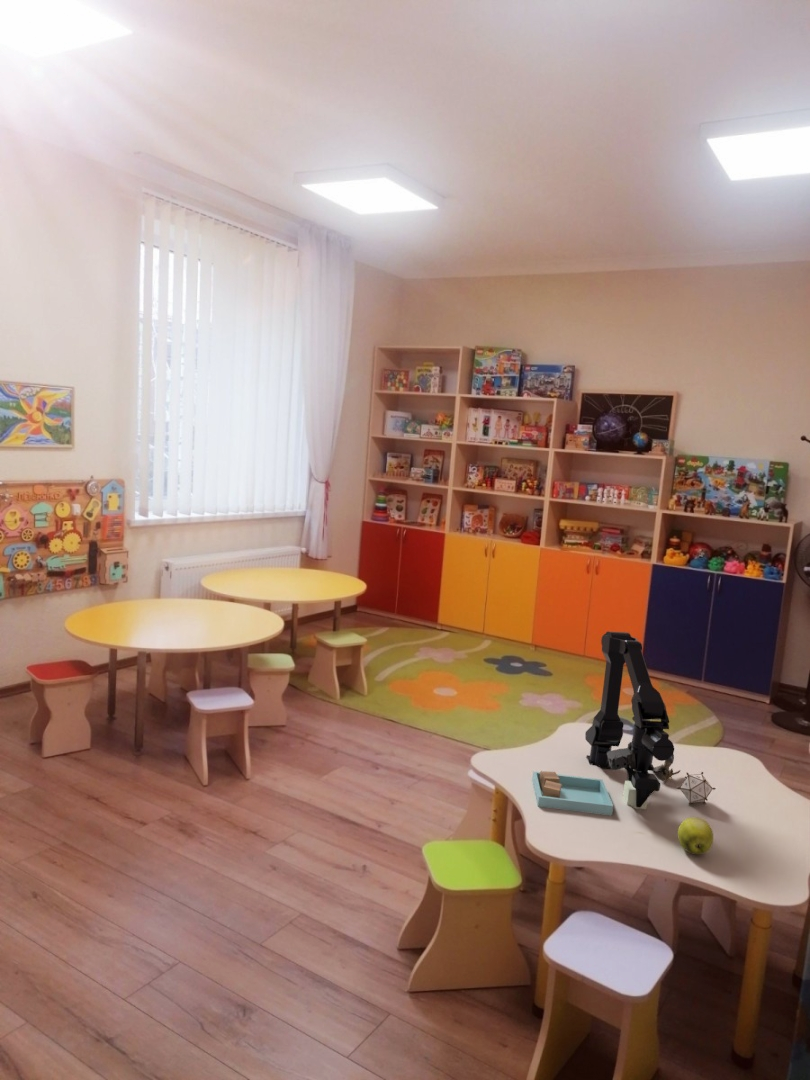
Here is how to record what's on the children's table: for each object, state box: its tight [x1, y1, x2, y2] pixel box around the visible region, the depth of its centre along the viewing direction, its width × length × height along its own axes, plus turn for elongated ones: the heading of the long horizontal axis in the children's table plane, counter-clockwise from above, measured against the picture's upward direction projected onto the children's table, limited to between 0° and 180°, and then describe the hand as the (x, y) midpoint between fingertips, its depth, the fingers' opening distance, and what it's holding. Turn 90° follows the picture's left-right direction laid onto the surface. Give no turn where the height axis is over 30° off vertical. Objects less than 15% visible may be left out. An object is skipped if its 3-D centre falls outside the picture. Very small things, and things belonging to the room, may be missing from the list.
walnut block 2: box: [543, 780, 562, 798], centre depth 201 cm, size 4×4×4 cm
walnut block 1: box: [539, 770, 559, 792], centre depth 206 cm, size 4×4×4 cm
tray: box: [531, 771, 614, 816], centre depth 203 cm, size 15×19×3 cm
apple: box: [677, 816, 714, 855], centre depth 183 cm, size 8×9×8 cm
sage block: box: [622, 780, 649, 810], centre depth 204 cm, size 5×5×5 cm
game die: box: [676, 771, 716, 806], centre depth 208 cm, size 9×8×10 cm
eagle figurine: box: [652, 753, 681, 784], centre depth 223 cm, size 8×7×9 cm
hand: (634, 799), depth 205 cm, fingers open, 8 cm apart
